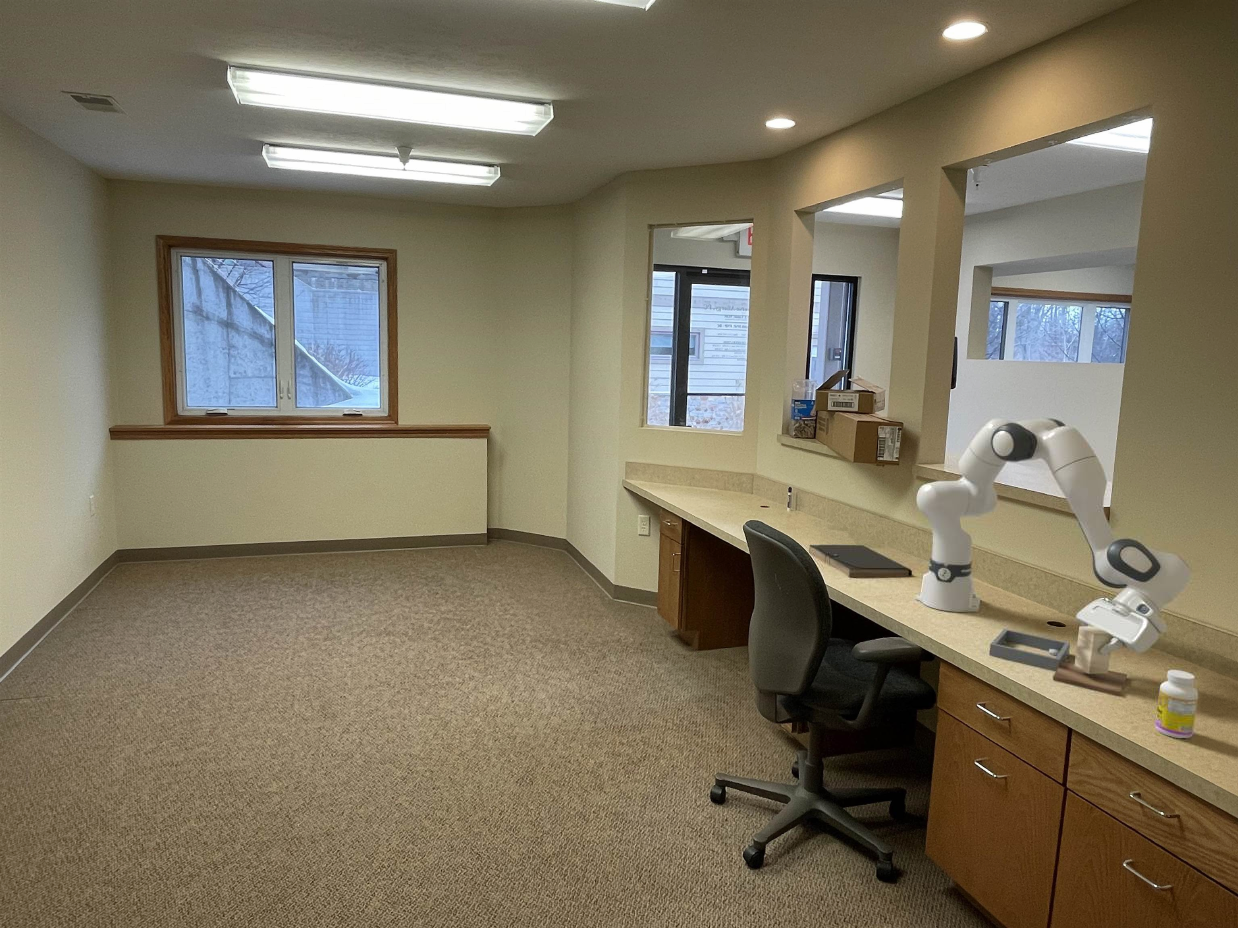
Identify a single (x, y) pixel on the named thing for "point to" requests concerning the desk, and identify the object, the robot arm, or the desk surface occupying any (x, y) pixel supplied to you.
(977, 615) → the desk surface
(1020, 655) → the parts tub
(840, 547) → the dark flat wooden case
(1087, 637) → the block
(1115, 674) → the walnut board
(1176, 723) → the supplement bottle
